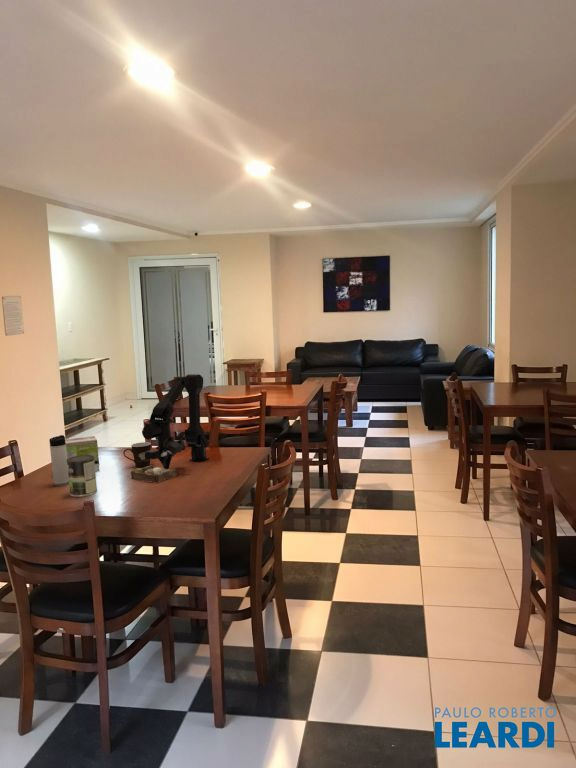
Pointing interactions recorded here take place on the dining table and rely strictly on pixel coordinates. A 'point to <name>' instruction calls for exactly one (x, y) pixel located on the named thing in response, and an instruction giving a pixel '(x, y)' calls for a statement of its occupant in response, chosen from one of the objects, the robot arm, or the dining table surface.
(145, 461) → the coffee mug
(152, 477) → the cabinet frame
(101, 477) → the dining table surface
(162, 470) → the door panel
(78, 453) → the tea box
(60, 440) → the travel mug
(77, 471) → the coffee can
